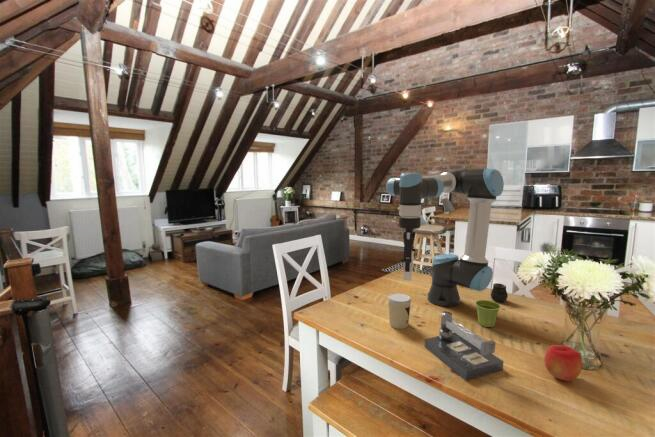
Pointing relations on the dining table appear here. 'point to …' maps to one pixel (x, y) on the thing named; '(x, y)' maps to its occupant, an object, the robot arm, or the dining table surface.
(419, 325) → the dining table surface
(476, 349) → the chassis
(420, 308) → the dining table surface
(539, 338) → the dining table surface
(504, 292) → the mate gourd
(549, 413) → the dining table surface
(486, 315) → the plant pot
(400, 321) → the coffee cup
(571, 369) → the apple
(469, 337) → the grey bar
